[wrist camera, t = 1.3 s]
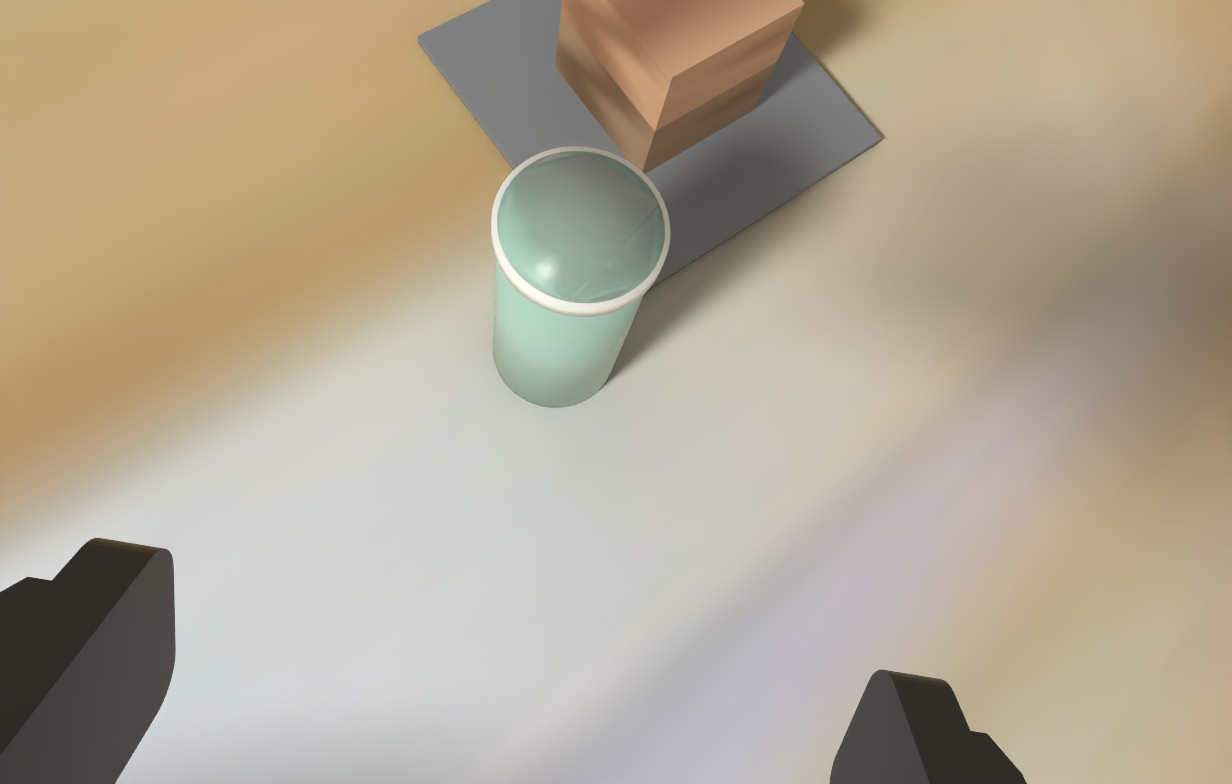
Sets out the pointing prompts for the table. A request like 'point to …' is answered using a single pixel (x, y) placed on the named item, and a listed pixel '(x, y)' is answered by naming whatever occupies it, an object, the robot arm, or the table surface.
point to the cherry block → (681, 46)
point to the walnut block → (628, 122)
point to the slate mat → (688, 183)
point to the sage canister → (571, 269)
